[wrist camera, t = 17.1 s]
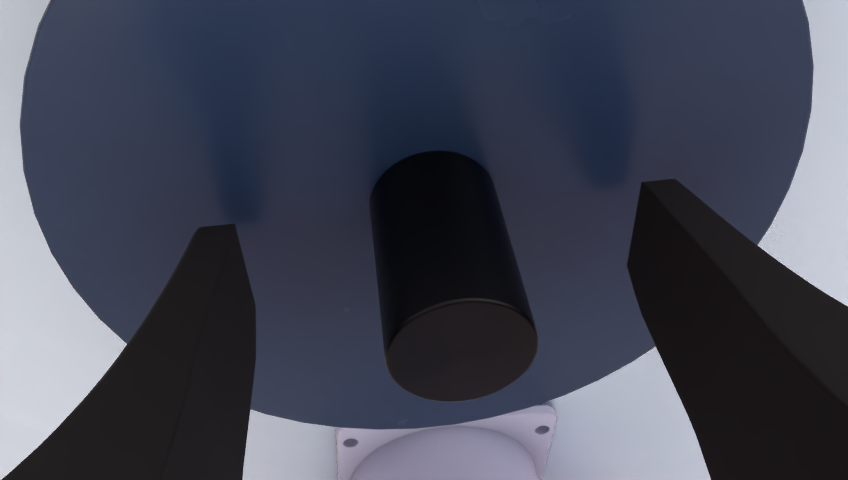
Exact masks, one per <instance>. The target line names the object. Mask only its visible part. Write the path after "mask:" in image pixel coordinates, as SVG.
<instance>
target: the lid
mask: <svg viewBox="0 0 848 480" xmlns="http://www.w3.org/2000/svg"><path fill="white" fill-rule="evenodd" d="M812 86H813V58H812V48H811V39H810V30H809V21H808V18H807V14H806V11H805V7H804V4H803V0H50V2H49V4H48V6H47V8H46V10H45V13H44V15H43V17H42V19H41V21H40V23H39V25H38V28H37V32H36V35H35V39H34V43H33V46H32V50H31V54H30V57H29V61H28V64H27V68H26V72H25V75H24V84H23V95H22V106H21V117H20V134H21V146H22V158H23V170H24V174H25V178H26V182H27V186H28V190H29V194H30V198H31V202H32V206H33V210H34V214H35V216H36V218H37V221H38V223H39V225H40V228H41V230H42V232H43V234H44V237H45V239H46V241H47V244H48V246H49V248H50V251H51V253H52V255H53V256H54V258H55V259H56V261H57V263H58V264H59V266H60V267H61V269H62V270H63V272H64V274H65V275H66V277H67V278H68V280H69V282H70V283H71V285H72V286H73V288H74V289H75V290H76V292H77V293H78V294H79V295H80V296H81V297H82V299H83V300H84V301H85V302H86V303H87V305H88V306H89V307H90V308H91V309H92V310H93V312H94V313H95V314H96V315H97V316H98V318H99V319H100V320H101V321H103V322H104V323H105V324H106V325H107V326H108V327H109V328H110V329H111V330H112V331H113V332H115V333H116V334H117V335H118V336H119V337H120V338H121V339H122V340H123V341H124V342H125V343H127V344H128V342H129V341H130V340H131V338H132V337H133V335H134V334H135V333H136V331H137V330H138V328H139V327H140V325H141V324H142V323H143V321H144V320H145V318H146V316H147V315H148V313H149V312H150V310H151V309H152V307H153V305H154V304H155V302H156V300H157V299H158V297H159V296H160V294H161V292H162V291H163V289H164V288H165V286H166V284H167V282H168V281H169V279H170V277H171V275H172V274H173V272H174V270H175V268H176V267H177V265H178V263H179V261H180V259H181V258H182V256H183V254H184V252H185V250H186V248H187V246H188V244H189V242H190V240H191V238H192V236H193V234H194V233H195V232H196V230H197V229H198V228H199V227H206V226H216V225H226V224H235V226H236V230H237V234H238V238H239V242H240V246H241V250H242V254H243V258H244V262H245V266H246V270H247V274H248V278H249V282H250V286H251V289H252V293H253V297H254V301H255V305H256V363H255V372H254V380H253V389H252V398H251V406H250V409H252V410H255V411H258V412H261V413H264V414H268V415H272V416H277V417H281V418H285V419H290V420H294V421H299V422H303V423H311V424H318V425H325V426H332V427H340V428H357V429H376V430H384V429H418V428H427V427H437V426H446V425H455V424H460V423H466V422H471V421H477V420H482V419H487V418H492V417H496V416H500V415H504V414H507V413H511V412H515V411H519V410H522V409H526V408H529V407H532V406H535V405H538V404H541V403H544V402H547V401H549V400H552V399H555V398H558V397H561V396H564V395H566V394H568V393H570V392H573V391H575V390H577V389H579V388H582V387H584V386H586V385H588V384H591V383H593V382H595V381H597V380H599V379H601V378H603V377H605V376H607V375H609V374H610V373H612V372H614V371H616V370H618V369H620V368H621V367H623V366H625V365H627V364H629V363H631V362H632V361H634V360H635V359H637V358H638V357H640V356H641V355H643V354H645V353H646V352H648V351H649V350H651V349H652V348H654V347H655V346H656V345H655V343H654V341H653V339H652V337H651V334H650V332H649V330H648V328H647V326H646V323H645V321H644V319H643V317H642V314H641V311H640V308H639V305H638V302H637V299H636V296H635V293H634V289H633V286H632V282H631V279H630V275H629V272H628V268H627V261H628V256H629V250H630V244H631V239H632V233H633V227H634V222H635V216H636V210H637V205H638V199H639V193H640V187H641V182H647V181H656V180H666V179H676V180H677V181H679V182H680V183H681V184H682V185H684V186H685V187H686V188H687V189H689V190H690V191H691V192H692V193H693V194H695V195H696V196H697V197H698V198H699V199H701V200H702V201H703V202H704V203H705V204H706V205H708V206H709V207H710V208H711V209H712V210H714V211H715V212H716V213H717V214H719V215H720V216H721V217H722V218H723V219H725V220H726V221H727V222H728V223H729V224H731V225H732V226H733V227H734V228H736V229H737V230H738V231H739V232H741V233H742V234H743V235H744V236H746V237H747V238H748V239H749V240H751V241H752V242H753V243H755V244H756V245H758V244H759V242H760V241H761V239H762V238H763V236H764V235H765V233H766V232H767V230H768V229H769V227H770V226H771V224H772V222H773V220H774V218H775V216H776V214H777V212H778V210H779V208H780V206H781V204H782V202H783V200H784V198H785V196H786V194H787V192H788V190H789V188H790V185H791V182H792V180H793V177H794V174H795V171H796V168H797V166H798V163H799V160H800V157H801V154H802V152H803V147H804V143H805V138H806V133H807V128H808V123H809V118H810V114H811V105H812Z"/></svg>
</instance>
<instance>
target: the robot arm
mask: <svg viewBox="0 0 848 480" xmlns="http://www.w3.org/2000/svg"><path fill="white" fill-rule="evenodd" d="M627 268H628V272H629V275H630V279H631V282H632V286H633V289H634V293H635V296H636V299H637V302H638V305H639V308H640V311H641V314H642V317H643V319H644V321H645V323H646V326H647V328H648V330H649V332H650V334H651V337H652V339H653V341H654V343H655V345H656V348H657V350H658V352H659V354H660V356H661V358H662V361H663V363H664V365H665V367H666V369H667V371H668V373H669V376H670V378H671V380H672V382H673V384H674V386H675V388H676V391H677V393H678V395H679V397H680V399H681V401H682V403H683V406H684V408H685V410H686V412H687V414H688V417H689V419H690V421H691V424H692V426H693V429H694V431H695V434H696V436H697V439H698V442H699V445H700V448H701V451H702V454H703V457H704V460H705V463H706V466H707V469H708V472H709V474H710V477H711V480H848V307H847V306H846V305H844V304H842V303H841V302H839V301H837V300H836V299H834V298H832V297H831V296H829V295H827V294H826V293H824V292H822V291H821V290H819V289H818V288H816V287H815V286H813V285H812V284H810V283H809V282H807V281H806V280H804V279H803V278H801V277H800V276H798V275H797V274H796V273H794V272H793V271H791V270H790V269H788V268H787V267H786V266H784V265H783V264H781V263H780V262H778V261H777V260H776V259H774V258H773V257H772V256H770V255H769V254H768V253H766V252H765V251H764V250H762V249H761V248H760V247H758V246H757V245H756V244H755V243H753V242H752V241H751V240H749V239H748V238H747V237H746V236H744V235H743V234H742V233H741V232H739V231H738V230H737V229H736V228H734V227H733V226H732V225H731V224H729V223H728V222H727V221H726V220H725V219H723V218H722V217H721V216H720V215H719V214H717V213H716V212H715V211H714V210H712V209H711V208H710V207H709V206H708V205H706V204H705V203H704V202H703V201H702V200H701V199H699V198H698V197H697V196H696V195H695V194H693V193H692V192H691V191H690V190H689V189H687V188H686V187H685V186H684V185H682V184H681V183H680V182H679V181H677V180H676V179H666V180H656V181H647V182H641V187H640V193H639V199H638V205H637V210H636V216H635V222H634V227H633V233H632V239H631V244H630V250H629V256H628V261H627ZM255 363H256V305H255V301H254V297H253V293H252V289H251V286H250V282H249V278H248V274H247V270H246V266H245V262H244V258H243V254H242V250H241V246H240V242H239V238H238V234H237V230H236V226H235V224H226V225H216V226H206V227H199V228H198V229H197V230H196V232H195V233H194V234H193V236H192V238H191V240H190V242H189V244H188V246H187V248H186V250H185V252H184V254H183V256H182V258H181V259H180V261H179V263H178V265H177V267H176V268H175V270H174V272H173V274H172V275H171V277H170V279H169V281H168V282H167V284H166V286H165V288H164V289H163V291H162V292H161V294H160V296H159V297H158V299H157V300H156V302H155V304H154V305H153V307H152V309H151V310H150V312H149V313H148V315H147V316H146V318H145V320H144V321H143V323H142V324H141V325H140V327H139V328H138V330H137V331H136V333H135V334H134V335H133V337H132V338H131V340H130V341H129V342H128V344H127V345H126V347H125V348H124V350H123V351H122V352H121V354H120V355H119V357H118V358H117V359H116V361H115V362H114V363H113V364H112V366H111V367H110V368H109V370H108V371H107V372H106V373H105V375H104V376H103V377H102V378H101V380H100V381H99V382H98V383H97V384H96V386H95V387H94V388H93V389H92V390H91V391H90V393H89V394H88V395H87V396H86V397H85V398H84V400H83V401H82V402H81V403H80V404H79V405H78V406H77V407H76V408H75V409H74V411H73V412H72V413H71V414H70V415H69V416H68V417H67V418H66V419H65V420H64V421H63V422H62V423H61V424H60V426H59V427H58V428H57V429H56V430H55V431H54V432H53V433H52V434H51V435H50V436H49V437H48V438H47V439H46V440H45V441H44V442H43V443H42V444H41V445H40V446H39V447H38V448H37V449H35V450H34V451H33V452H32V453H31V454H30V455H29V456H28V457H27V458H26V459H24V460H23V461H22V462H21V463H20V464H19V465H18V466H17V467H16V468H15V469H13V470H12V471H11V472H10V473H9V474H8V475H7V476H5V477H4V478H3V479H2V480H242V476H243V465H244V456H245V448H246V440H247V431H248V423H249V415H250V406H251V398H252V389H253V380H254V372H255ZM556 423H557V415H556V411H555V409H554V408H553V407H551V406H548V405H538V406H532V407H529V408H526V409H522V410H519V411H515V412H511V413H507V414H504V415H500V416H496V417H492V418H487V419H482V420H477V421H471V422H466V423H460V424H455V425H446V426H437V427H427V428H418V429H384V430H376V429H357V428H340V427H336V444H337V470H338V480H542V477H543V473H544V469H545V465H546V461H547V457H548V454H549V450H550V446H551V442H552V438H553V434H554V430H555V426H556Z"/></svg>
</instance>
